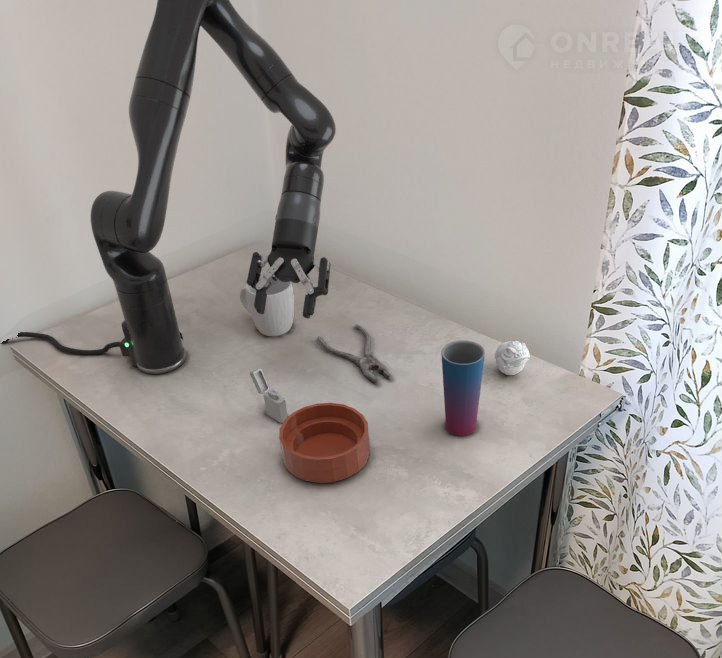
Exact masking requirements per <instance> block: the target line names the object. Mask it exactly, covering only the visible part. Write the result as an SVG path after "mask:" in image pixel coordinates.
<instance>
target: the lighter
mask: <svg viewBox="0 0 722 658" xmlns="http://www.w3.org/2000/svg"><path fill="white" fill-rule="evenodd" d="M249 375H250V377H251V380H252V383H253V384H254V387H255V389H256V391H257V393H258V394H259V395H262V396H263V401H264V407H265V413H266V415H267V416H269V417H271V418H272V419H273V420H275V421H276V422H278V423H280V424H283V422H284V420H285V419H286V418H287V417H288V416H289V415H288V409H287V403H286V402H287V401H286V398H284V397H283V396H281V395H280V392H279V391H277V390H275V389H274V388H270V385H269V383H268V381H267V379H266V376H265V374H264V372H263V369H262V368H255V369H253V370H251V371H249Z"/></svg>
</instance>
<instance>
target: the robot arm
mask: <svg viewBox="0 0 722 658" xmlns="http://www.w3.org/2000/svg"><path fill="white" fill-rule="evenodd" d="M156 1H157V2H156V7H155V12H154V16H153V20H152V21H151V26H150V28H149V31H148V35H147V38H146V41H145V43H144V47H143V50H142V54H141V57H140V60H139V64H138V67H137V70H136V73H135V78H134V81H133V86H132V90H131V94H130V98H129V104H128V119H129V123H130V127H131V132H132V137H133V139H134V144H135V147H136V151H137V173H136V177H135V178H136V179H135V183H134V186H133V191H132V193H128V192H124V191H118V190H106V191H103V192H101V193H99V194H98V195H97V196H96V197H95V199H94V200H93V202H92V205H91V209H90V226H91V232H92V235H93V238H94V242H95V244H96V248H97V250H98V253H99V255H100V259H101V262H102V265H103V267H104V269H105V271H106V273H107V275H108V276H109V277H110V278H111V280H112V281H113V285H114V288H115V291H116V295H117V298H118V301H119V305H120V309H121V312H122V315H123V319H124V320H123V321H122V323H121V325H120V326H121V330H122V333H123V335H124V337H123V338H122V339H121V340H120V341H113V342H110V343H107V344H105V345H104V347H103V348H97V349H78V348H73V347H68V346H65V345H63V344H62V343H60V342H59V341H58V340H57V339H56V338H54V337H53V336H51V335H50V334H46V333H41V332H40V333H39V332H32V331H19V332H20V333H18V335H17V336H18V337H17V338H33V339H42V340H46V341H49V342H51V344H52V345H53V346H55V348H56V349H58V350H60V351H62V352H65V353H68V354H73V355H80V356H97V355H98V356H99V355H103V354H106V353H108V352H109V350H110V349H113V348H119V349H120V353H121V355H122V357H127V358H130V360H131V364H132V367H133V368H137V369H138V370H139V371H141V372H142V373H145V374H149V375H162V374H166V373H169V372H172V371H174V370H176V369H178V368H179V367H181V366H182V365H183V364H184V363H185V361H186V357H187V356H186V351H185V349H184V345H183V341H184V336H183V333H182V332H181V331H180V327H179V323H178V320H177V315H176V311H175V305H174V302H173V298H172V293H171V289H170V286H169V281H168V276H167V273H166V269H165V266H164V264H163V262H162V260H161V259H160V258H159V257H157V256H156V255H154V254H152V252H151V251H152V250H153V249H155V248H156V246H157V245H158V243H159V242H160V240H161V237H162V234H163V231H164V226H165V223H166V222H165V221H166V216H167V210H168V202H169V197H170V188H171V182H172V177H173V171H174V165H175V161H176V157H177V153H178V152H177V151H178V147H179V143H180V138H181V135H182V131H183V128H184V124H185V120H186V117H187V113H188V108H189V105H190V100H191V96H192V91H193V85H194V80H195V72H196V63H197V51H198V41H199V34H200V30H201V29H200V28H202V29H203V30H204V31H205V32H206V33H207V34H208V36H209V37H210V38H211V39H212V40H213V41H214V42H215V43H216V44H217V45H218V46H219V48H220V49H221V50H222V51H223V53H224V54H225V55H226V56H227V57H228V59H229V60H230V61H231V63H232V64H233V65H234V67H235V68H236V69H237V71H238V72H239V74H240V75H241V76H242V77H243V79H244V80H245V81H246V83H247V84H248V85H249V87H250V88H251V89H252V91H253V92H254V93H255V95H256V96H257V97H258V99H259V100H260V101H261V102H262V104H263V105H264V106H265V107H266V109H267V110H268V111H270V112H272V113H273V114H282V116H284V117H285V118H286V119H287V121H288V122H290V124H291V126H290V127H289V129H288V133H287V137H286V143H285V172H284V175H283V182H282V187H281V192H280V193H281V195H280V198H279V202H278V205H277V210H276V214H275V222H274V229H273V233H272V234H273V235H272V241H271V250H270V253H269V254H261V253H259V252H258V251H254V252H253V253H252V255H251V261H250V265H249V269H248V274H247V278H246V284H248V285H249V286H251V287H252V288H253V289H256V296H255V303H254V307H255V309H256V311H257V312H258V313H259V314H264V312H265V305H266V299H267V294H266V292H267V290H268V289H269V288H270V287H271V286H272V285H275V284H276V283H277V282H278V281H279V280H280V281H281V282H289V281H291V283H294V284H299V283H301V284H302V286H303V287H304V289H305V292H306V293H307V294H305V297H304V302H303V307H302V308H303V309H302V317H303V318H305V319H310V318H311V316H313V315H314V313H315V309H316V308H315V307H316V302H317V298H318V297H321V296H326V295H328V293H329V284H330V277H331V276H330V274H331V262H330V261H329V260H328V259H327V257H325V256H324V257H323V256H322V257H321V258H320V259H318V258H315V251H316V245H317V240H318V239H317V238H318V232H319V227H320V219H321V203H322V198H323V191H324V183H325V174H324V171H323V170H322V161H323V157H324V152H325V150H326V148H327V147H328V146H329V145H330V144H331V143H332V142H333V140H334V139H335V136H336V133H337V131H336V130H337V127H336V122H335V119H334V117H333V115H332V113H331V111H330V110H329V109H328V108H327V106H326V105H325V104H324V103H323V101H321V100H320V99H319V98H318V97H317V96H316V95H314V93H312V92H311V90H309V89H307V88H306V87H305V86H304V85H303V84H301V83H300V81H298V79H297V78H296V76H295V75H294V74H293V72H292V71H291V69H290V68H289V67H288V66H287V64H286V63H285V61H284V60H283V58H282V57H281V56H280V55H279V54H278V52H277V51H276V50H275V49H274V48H273V46H271V45H270V44H269V43H268V41H267V40H266V39H264V38H263V37H262V36H261V35H260V34H259V33H258V32H257V31H256V30H255V29H253V28H252V27H251V26H250V25H249V24H248V23H247V22H246V21H245V20H244V18H242V16H241V15H240V14H239V13H238V11H237V10H236V8H235V7H234V6H233V4H232V2H231V1H230V0H156ZM266 264H268V265H269V268H268V269H267V270H266V271H265V273H263V274H264V275H263V274H262V270H263V268H265V267H266ZM314 268H315V269H316V271H317V272H318V278H317V279H318V280H317V286H314V284H313V281H312V279H311V278H310V277H309V276H310V275H309V274H310V272H311V271H312V270H313V269H314ZM260 275H263V278H262V279H261V280H260V281H259V279H260ZM13 339H14V338H12V339H7V340H6V341H3V342H2V343H0V345H5V344H7V343H8V342H9V341H11V340H13Z"/></svg>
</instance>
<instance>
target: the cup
mask: <svg viewBox="0 0 722 658" xmlns="http://www.w3.org/2000/svg"><path fill="white" fill-rule="evenodd" d="M440 352H441V353H440V354H441V370H442V371H441V372H442V383H443V384H442V386H443V397H444V398H443V402H444V403H443V404H444V415H445V428H446V430H447V432H449V434H451V435H454V436H457V437H465V436H469V435H471V434H472V433H474V432H475V431H476V428H477V422H478V414H479V405H480V397H481V390H482V380H483V373H484V366H485V357H486V350H485V348H484V347H483V346H482V345H481V344H480V343H478V342H475V341H473V340H463V339H462V340H454V341H451V342H449V343H447V344H445V345H444V346H443V347H442V349H441V351H440Z"/></svg>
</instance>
